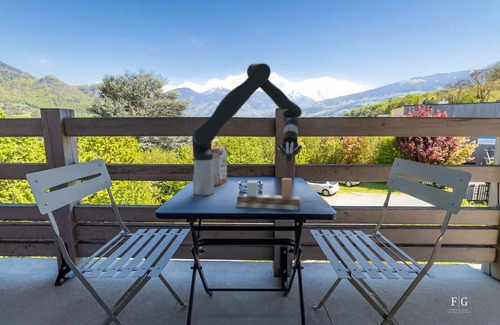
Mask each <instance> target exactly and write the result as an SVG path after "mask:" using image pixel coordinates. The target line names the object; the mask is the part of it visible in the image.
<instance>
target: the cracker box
mask: <svg viewBox="0 0 500 325" xmlns="http://www.w3.org/2000/svg"><path fill="white" fill-rule="evenodd" d="M211 149H212V153H213V181H214V186H221V185H222V184H224V183H225V182H227V181H228V178H227V176H228V175H227V174H228V169H227V168H228V167H227V165H228V164H227V162H228V161H227V160H228V159H227V156H228V155H227V154H228V153H227V151H228V148H227V146H214V147H211Z"/></svg>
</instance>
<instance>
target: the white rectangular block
mask: <svg viewBox="0 0 500 325" xmlns="http://www.w3.org/2000/svg"><path fill="white" fill-rule="evenodd" d="M246 194H247V196H250V197H258V195H259V180H250V179H249V180H247V182H246Z"/></svg>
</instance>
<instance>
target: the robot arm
mask: <svg viewBox="0 0 500 325" xmlns="http://www.w3.org/2000/svg"><path fill="white" fill-rule="evenodd" d="M246 73H247V74H246V75H247V78H246V79H245V80H244V81H243V82H242V83H241V84H238V85H237V86H236V87H234V88H233V89H232V90H230V91H229V92H228V93H227V94H226V95H225V96H224V97H223V98H222V100H221V101H220V102H219V103H218V105H217V106H216V108H215V110H214V111H213V113H212V115H211V116H210V117H209V118H208V119H207V120H206V121H205V122H204V123H203V124H202V125H201V126H197V127H196V128H194V129H193V131H192V136H191V137H192V138H191V140H192V154H193V165H194V166H193V167H194V171H193V172H194V173H193V175H192V193H193V195H195V196H210V195H213V194H214V193H215V188H214V186H215V185H214V181H213V153H212V149H211V148H212V142H213V141H214V139H215V138H216V136H217V135H218V133H219V132H220V131H221V129H222V128H223V127H224V126H225V125H226V124H227V123H228V122H229V121H230V120H231V119H232V118H234V116H235V115H236V114H237V113H238V112H239V111H240V110H241V108H242V107H243V106H244V105H245V103H246V102H247V101H249V99H250V98H251V96H253V94H254V93H255V92H256V91H257V90H258V89H261V90H262V91H263V92H264V93H265V94H266V95H267V96H268V97H269V98H270V99H271V100H272V102H273V103H274V104H275V105H276V106H277V107H278V108H279V110H282V111H283V112H282V117H283V122H284V129H283V135H282V137H283V138H282V142H281V144H278V145H277V150H278V151H279V152H280V154H282V156H285V161H286V162H287V163H291V162H292V161H293V156H294V157H296V156H297V155H298V154H299V153H300V152H301V151H302V150H303V145H299V143H298V139H299V138H298V136H299V132H298V131H299V130H298V126H299V124H298V123H299V122H298V120H297V119H298V118H300V117H301V116H302V114H303V113H302V109H301V107H300V106H299V105H298V104H297V103H295V102H294V101H292V100H291V99H289V98H288V96H287V95H286V94H285V93H284V91H283V90H281V89H280V88H279V87H277V86H276V85H275V84H274V83H273V82H271V81H270V79H269V78H270V76H271V67H270V65H269V64H268V63H265V62H253V63H251V64H249V65H248V67H247V69H246Z"/></svg>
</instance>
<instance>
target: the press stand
mask: <svg viewBox="0 0 500 325" xmlns="http://www.w3.org/2000/svg"><path fill="white" fill-rule="evenodd" d="M300 205H301V196H296V195H295V196H292V195H291V198H286V197H282V195H275V194H273V195H272V194H258V197H250V196H247V193H244V194H243V195H237V196H236V207H240V208H241V207H242V208H256V209H257V208H258V209H270V210H271V209H274V210H292V211H300Z"/></svg>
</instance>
